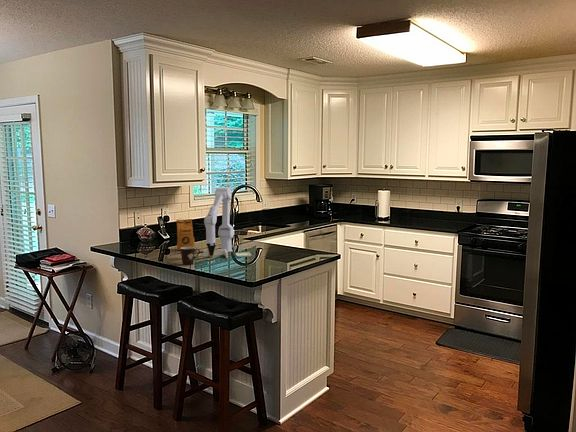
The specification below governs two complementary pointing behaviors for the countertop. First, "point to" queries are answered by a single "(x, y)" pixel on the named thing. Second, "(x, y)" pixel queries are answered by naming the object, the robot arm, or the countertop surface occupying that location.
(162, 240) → the countertop surface
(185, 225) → the coffee package
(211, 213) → the robot arm
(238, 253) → the tray
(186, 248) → the coffee mug
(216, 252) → the acrylic walls
